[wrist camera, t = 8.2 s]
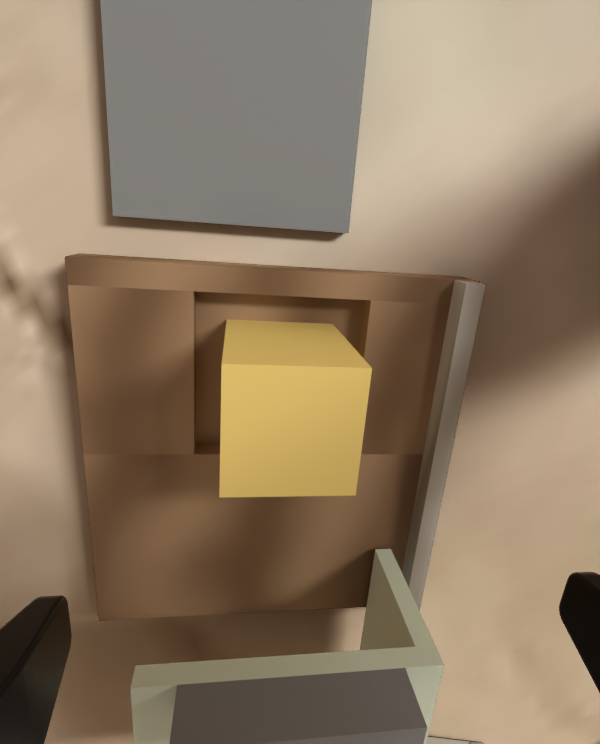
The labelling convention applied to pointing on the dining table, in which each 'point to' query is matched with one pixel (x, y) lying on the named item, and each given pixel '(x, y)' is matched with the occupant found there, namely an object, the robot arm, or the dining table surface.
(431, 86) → the dining table surface
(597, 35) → the dining table surface
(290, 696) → the lid
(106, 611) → the board
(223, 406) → the block
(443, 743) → the food box
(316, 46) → the coaster
